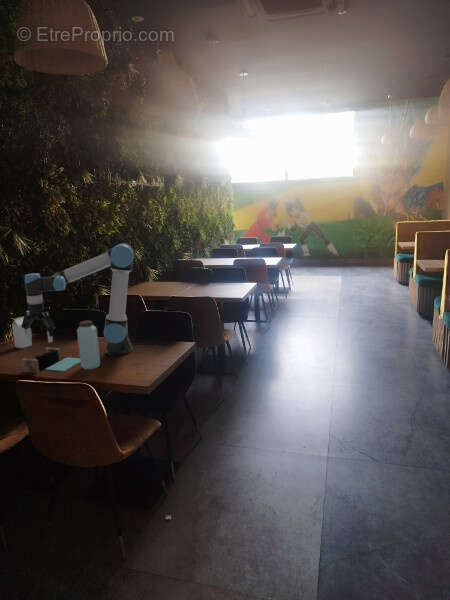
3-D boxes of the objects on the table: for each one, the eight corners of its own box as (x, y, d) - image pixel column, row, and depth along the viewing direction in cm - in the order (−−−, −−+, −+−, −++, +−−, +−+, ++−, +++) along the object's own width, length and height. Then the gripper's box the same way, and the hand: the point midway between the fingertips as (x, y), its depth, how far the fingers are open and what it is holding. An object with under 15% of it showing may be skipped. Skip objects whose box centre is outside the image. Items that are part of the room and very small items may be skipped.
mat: (85, 359, 234) (84, 358, 234) (64, 371, 217) (64, 370, 217) (66, 358, 237) (66, 357, 237) (45, 370, 221) (45, 368, 220)
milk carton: (32, 345, 264) (28, 316, 260) (21, 348, 258) (17, 319, 254) (25, 344, 268) (21, 315, 264) (15, 347, 262) (10, 318, 258)
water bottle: (89, 371, 216) (84, 325, 211) (77, 368, 221) (71, 323, 216) (104, 365, 224) (99, 320, 219) (92, 362, 229) (87, 318, 224)
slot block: (61, 360, 235) (60, 348, 233) (37, 373, 216) (35, 360, 215) (48, 359, 237) (47, 347, 236) (23, 371, 219) (21, 359, 217)
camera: (52, 360, 235) (50, 347, 233) (61, 362, 232) (59, 348, 230) (30, 369, 223) (28, 355, 221) (39, 371, 219) (37, 356, 218)
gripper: (60, 302, 219) (64, 340, 224) (21, 300, 226) (26, 337, 231) (50, 305, 212) (54, 344, 217) (10, 303, 219) (16, 341, 224)
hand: (40, 341), depth 224 cm, fingers open, 13 cm apart
